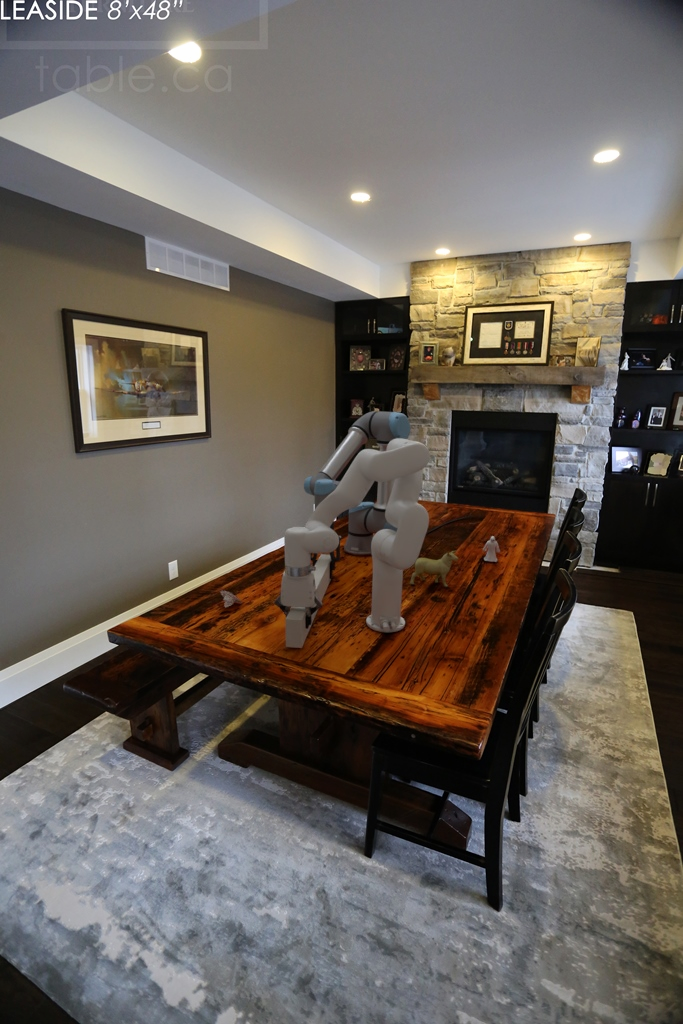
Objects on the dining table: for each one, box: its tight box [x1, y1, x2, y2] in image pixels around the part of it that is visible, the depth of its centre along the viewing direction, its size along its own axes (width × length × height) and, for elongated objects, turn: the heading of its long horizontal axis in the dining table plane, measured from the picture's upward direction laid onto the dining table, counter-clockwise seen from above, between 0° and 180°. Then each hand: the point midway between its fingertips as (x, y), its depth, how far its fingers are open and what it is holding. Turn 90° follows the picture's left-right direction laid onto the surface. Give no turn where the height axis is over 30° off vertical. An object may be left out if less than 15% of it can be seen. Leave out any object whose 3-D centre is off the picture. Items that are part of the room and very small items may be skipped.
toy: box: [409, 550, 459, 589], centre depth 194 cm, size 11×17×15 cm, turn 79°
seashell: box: [219, 590, 242, 609], centre depth 173 cm, size 8×5×8 cm
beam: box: [284, 553, 332, 649], centre depth 173 cm, size 61×5×9 cm, turn 173°
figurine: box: [482, 535, 501, 563], centre depth 223 cm, size 8×8×12 cm
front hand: (298, 625), depth 151 cm, fingers closed on beam, 4 cm apart
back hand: (323, 577), depth 197 cm, fingers open, 5 cm apart
